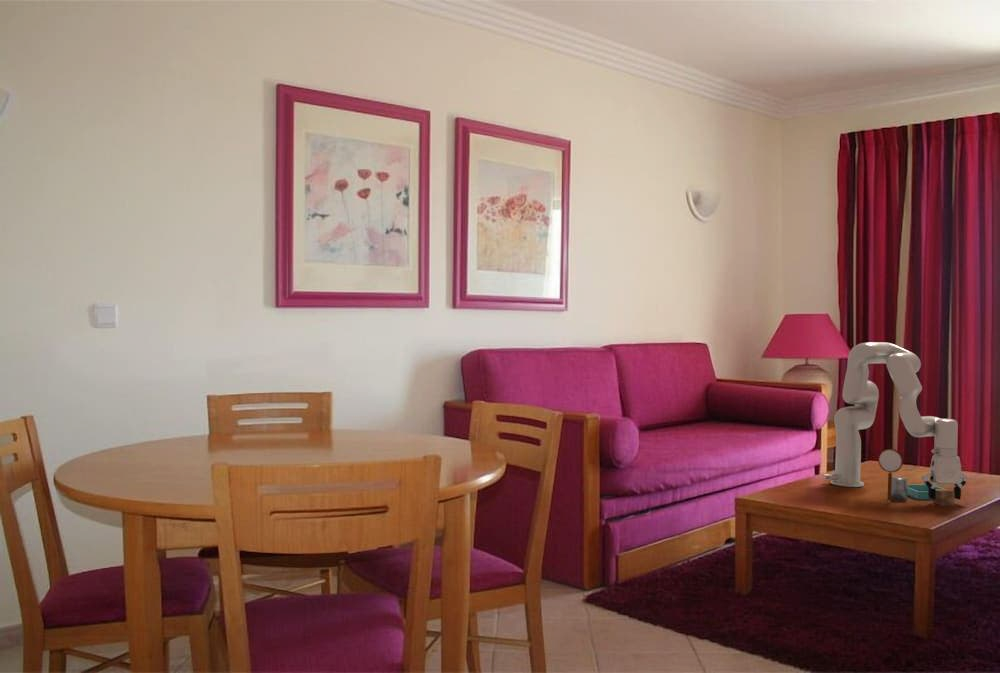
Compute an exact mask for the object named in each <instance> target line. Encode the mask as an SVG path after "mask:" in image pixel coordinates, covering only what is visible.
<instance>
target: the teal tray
mask: <svg viewBox="0 0 1000 673" xmlns="http://www.w3.org/2000/svg"><path fill="white" fill-rule="evenodd" d="M934 489H944V488H943V487H940V486H937V485H936V486H935V487H934ZM907 497H910V498H913V499H915V500H918V501H920V500H921V501H923V500H924V501H925V500H927V501H928V500H929V501H930V500H931V501H933V499H930V498H929V496H928V487H927V485H926V484H908V491H907Z"/></svg>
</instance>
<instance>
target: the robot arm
mask: <svg viewBox="0 0 1000 673" xmlns="http://www.w3.org/2000/svg"><path fill="white" fill-rule="evenodd" d="M871 364H875V365H876V364H877V365H878V364H885V365H886V368H887V371H888V373H889V376H890V377H891V380H892V382H893V384H894V386H895V389H896V391H897V393H898V395H899V398H898V412H899V416H900V419H901V421H902V423H903V426H904V427H905V429H906V431H907V432H908V433H909V435H911V436H912V437H914V438H924V437H925V438H926V437H934V447H933V448H932V449H931V451H930V452H931V453H932V454H933V455H932V457H931V461H930V462H931V463H930V466H929V472H927V473H925V474H923V475H922V476H921V478H922V481H923V484H924V485H927V487H928V496H929V498H930V499H933V500H935V498H936V489H934V487H935V486H937V485H938V484H939V485H954V487H953V492H955V497H954V499H956V500H961V497H962V489H963V488H964V486H965V485H966V484H967V481H968V479H969V476H968V475H967V474H964V473H963V472H962V464H961V458H960V456H958V431H959V430H958V429H959V428H958V427H959V425H958V424H959V423H958V421H957V420H955V419H953V418H940V417H937V416H932V415H926V416H925V415H924V416H921V414H920V412H919V410H918V407H917V406H918V405H917V398H918V397H919V394H920V393H921V392H922V390H923V386H922V383H921V382H920V379H919V378H918V375H917V374H916V373H918V372H919V371H920V369H921V366H922V363H921V360H920V358H919V357H918V356H917V354H915V353H914V352H912V351H909V350H907V349H905V348H903V347H901V346H898V345H896V344H894V343H891V342H886V341H885V342H884V341H883V342H881V341H879V342H878V341H876V342H875V341H871V342H870V341H869V342H867V341H866V342H861V343H858V344H857V345H856V344H855V345H854V346H853V347H852V348H851V349H850V351H849V352H848V356H847V365H846V371H845V376H844V382H843V388H842V395H841V396H842V400H843V401H844V402H845V403H846V404H849V405H854V406H845V407H842V408H839V409H838V410H837V411H836V412H835V414H834V417H833V420H834V422H833V423H834V428H835V461H834V462H835V465H834V466H835V467H834V468H835V469H834V471H832V473H830V474H826V473H825V474H823V477H822V478H823V479H824V480H830V484H832V485H835V486H840V487H846V488H847V487H848V488H860V487H861V488H862V487H864V485H865V482H863V481H861V462H862V461H861V459H862V439H861V434H860V431H859V430H866V429H868V428H870V427H872V425H873V424H874V421H875V419H876V413H877V409H878V402H879V397H880V394H879V393H880V392H879V388H878V386H877V385H876V383H874V382H873V381H871V380H869V375H870V370H869V365H871ZM929 480H930V481H929ZM933 500H932V501H933Z"/></svg>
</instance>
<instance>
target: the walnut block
mask: <svg viewBox="0 0 1000 673" xmlns="http://www.w3.org/2000/svg"><path fill="white" fill-rule="evenodd" d="M954 497H955V492H954V490H953V491H952V490H949V489H946V488H943V489H936V498H935V500H932V501H933V502H932V503H934V504H937V505H939V506H955V498H954Z"/></svg>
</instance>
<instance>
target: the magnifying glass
mask: <svg viewBox="0 0 1000 673" xmlns="http://www.w3.org/2000/svg"><path fill="white" fill-rule="evenodd" d="M877 462H878V465H879V466H880V468H881V469H882V470H884V471H885V472H887V474H888V475H887V476H888V477H887V502H888V503H891V501H892V500H891V484H892V477H893V474H892V473H896V472H898V471H900V469H901V468H902V466H903V463H904V459H903V456H902V455H901V453H900V452H899V451H898V450H896V449H893V448H886V449H883V450H882V451H881V452H880V453H879V454H878V459H877Z"/></svg>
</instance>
